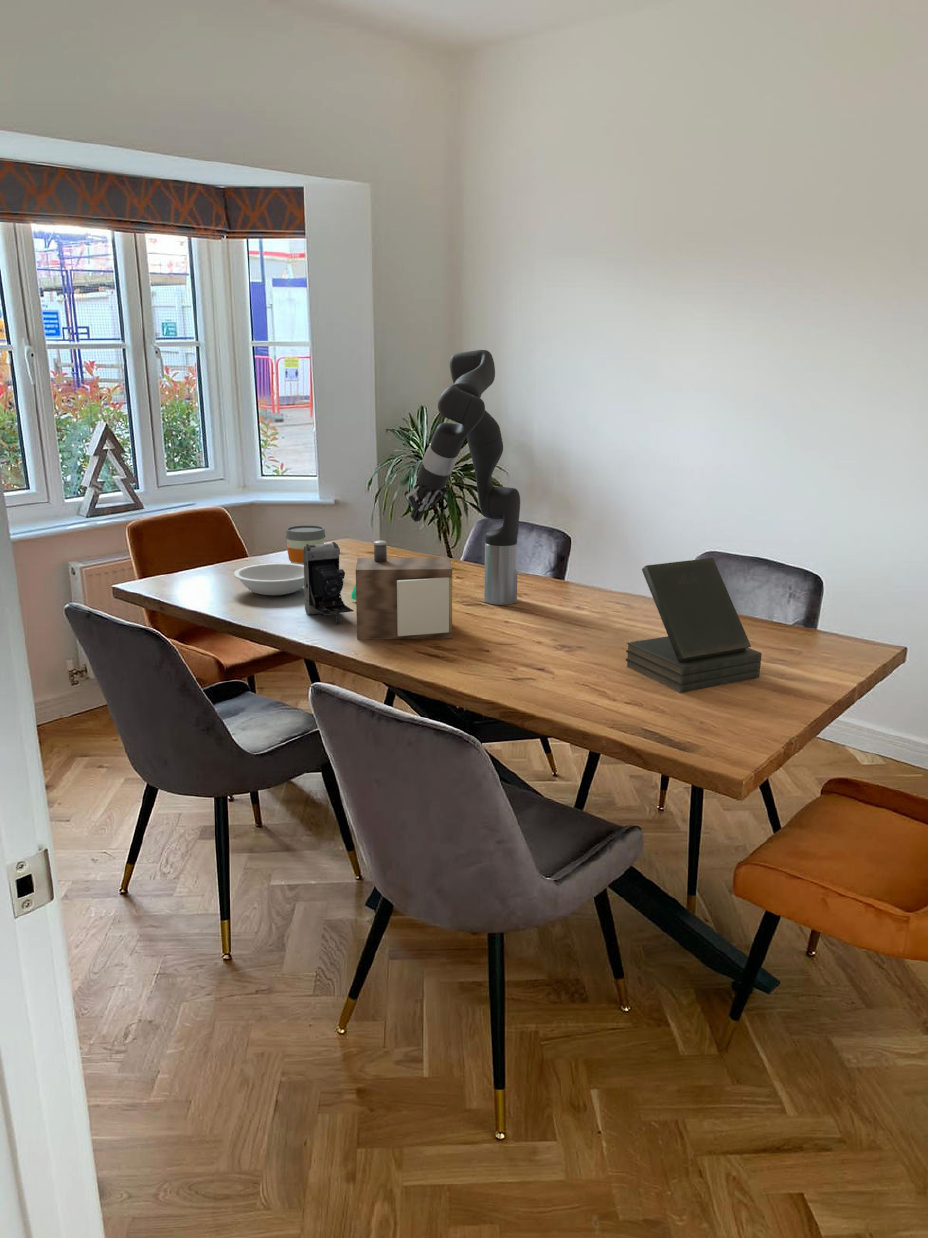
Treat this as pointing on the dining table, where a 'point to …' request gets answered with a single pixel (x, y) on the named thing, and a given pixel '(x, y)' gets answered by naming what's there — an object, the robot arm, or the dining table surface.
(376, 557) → the film canister
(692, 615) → the stack of books
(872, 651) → the dining table surface
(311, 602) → the vintage camera
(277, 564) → the soup bowl
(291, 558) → the reusable coffee cup
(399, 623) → the side door
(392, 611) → the walnut box
